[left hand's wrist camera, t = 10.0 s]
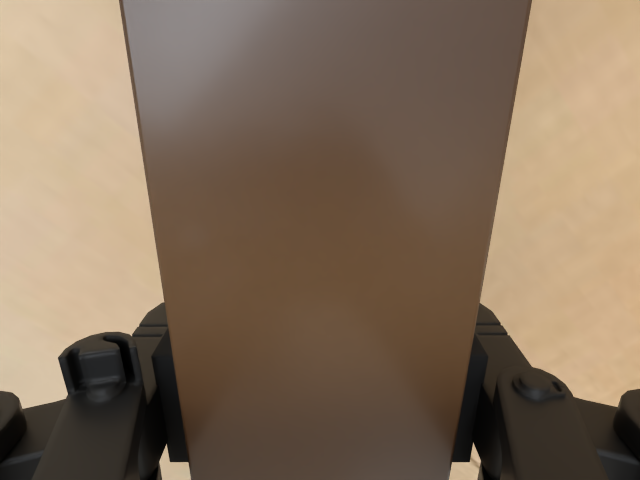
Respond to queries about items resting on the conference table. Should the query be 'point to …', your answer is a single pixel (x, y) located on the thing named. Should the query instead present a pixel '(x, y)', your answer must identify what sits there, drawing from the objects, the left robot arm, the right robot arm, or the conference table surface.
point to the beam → (323, 221)
